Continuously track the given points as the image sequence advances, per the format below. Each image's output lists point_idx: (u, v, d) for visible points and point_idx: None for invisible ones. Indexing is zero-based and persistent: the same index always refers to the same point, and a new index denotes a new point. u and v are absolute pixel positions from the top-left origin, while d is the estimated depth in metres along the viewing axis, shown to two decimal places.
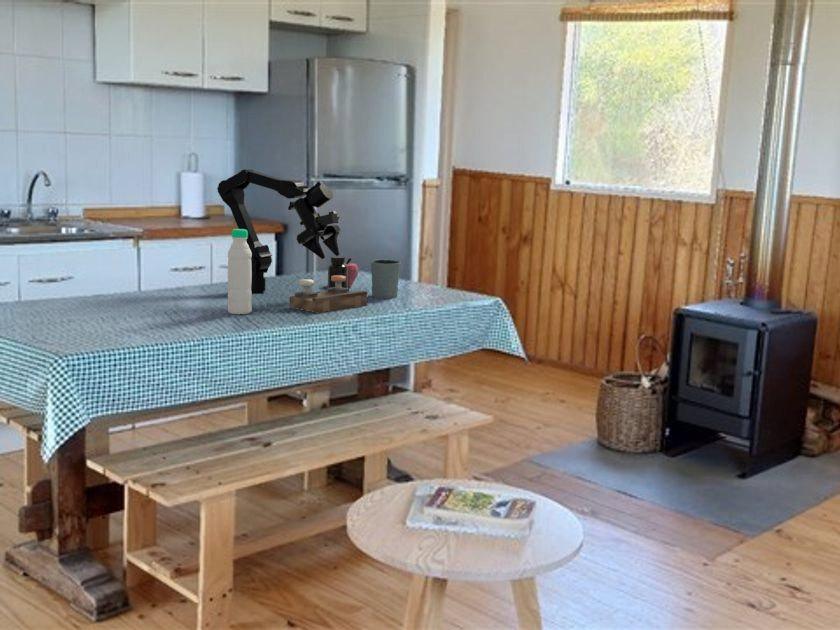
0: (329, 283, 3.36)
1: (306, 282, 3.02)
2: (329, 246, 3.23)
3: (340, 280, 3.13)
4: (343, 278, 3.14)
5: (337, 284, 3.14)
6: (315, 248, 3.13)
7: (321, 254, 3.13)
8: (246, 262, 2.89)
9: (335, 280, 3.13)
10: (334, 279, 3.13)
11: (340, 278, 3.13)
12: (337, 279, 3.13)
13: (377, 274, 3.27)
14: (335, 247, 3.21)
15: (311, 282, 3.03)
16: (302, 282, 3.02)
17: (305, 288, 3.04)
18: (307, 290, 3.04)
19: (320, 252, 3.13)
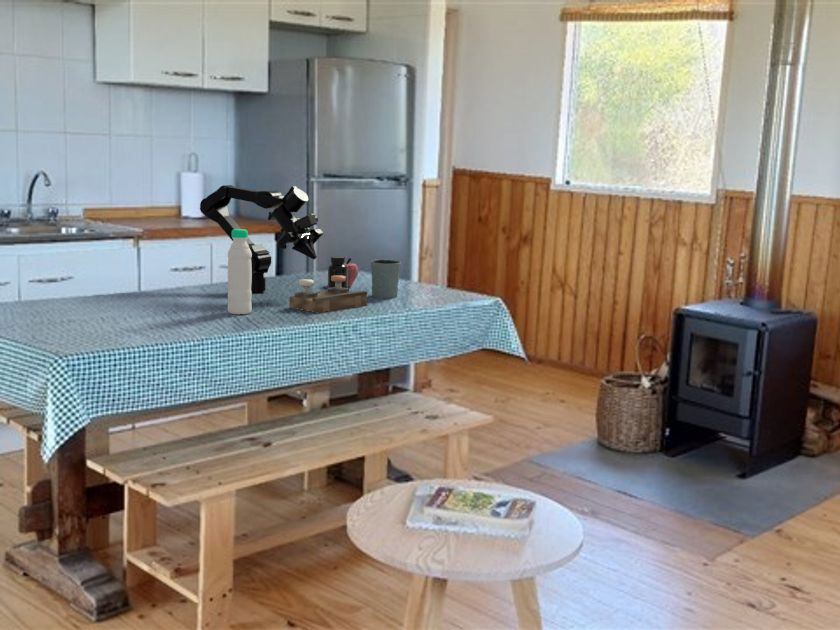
0: (329, 283, 3.36)
1: (306, 282, 3.02)
2: None
3: (340, 280, 3.13)
4: (343, 278, 3.14)
5: (337, 284, 3.14)
6: (305, 250, 3.18)
7: (312, 254, 3.18)
8: (246, 262, 2.89)
9: (335, 280, 3.13)
10: (334, 279, 3.13)
11: (340, 278, 3.13)
12: (337, 279, 3.13)
13: (377, 274, 3.27)
14: None
15: (311, 282, 3.03)
16: (302, 282, 3.02)
17: (305, 288, 3.04)
18: (307, 290, 3.04)
19: (310, 252, 3.18)
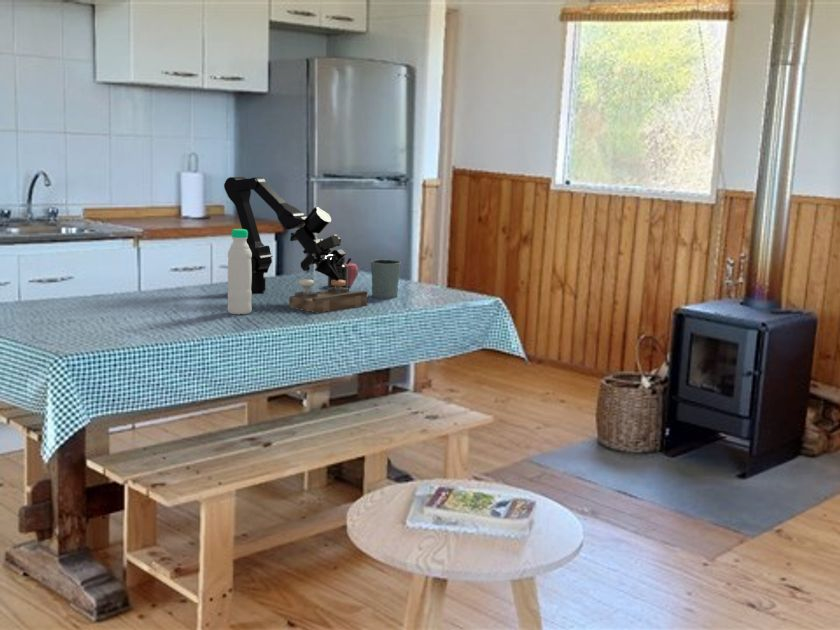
0: (329, 283, 3.36)
1: (306, 282, 3.02)
2: None
3: (340, 284, 3.13)
4: (343, 282, 3.14)
5: (337, 288, 3.15)
6: (328, 271, 3.15)
7: (335, 276, 3.15)
8: (246, 262, 2.89)
9: (335, 284, 3.13)
10: (334, 283, 3.13)
11: (340, 282, 3.13)
12: (337, 284, 3.13)
13: (377, 274, 3.27)
14: None
15: (311, 282, 3.03)
16: (302, 282, 3.02)
17: (305, 288, 3.04)
18: (307, 290, 3.04)
19: (333, 274, 3.15)
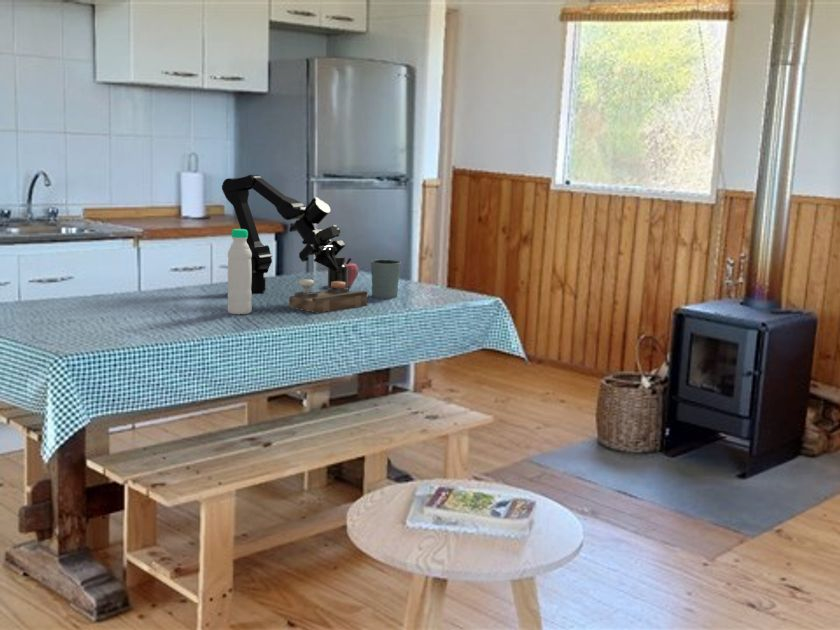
0: (329, 283, 3.36)
1: (306, 282, 3.02)
2: None
3: (340, 286, 3.13)
4: (343, 284, 3.14)
5: None
6: (327, 262, 3.14)
7: (334, 267, 3.13)
8: (246, 262, 2.89)
9: (335, 286, 3.13)
10: (334, 285, 3.13)
11: (340, 284, 3.13)
12: (337, 285, 3.13)
13: (377, 274, 3.27)
14: None
15: (311, 282, 3.03)
16: (302, 282, 3.02)
17: (305, 288, 3.04)
18: (307, 290, 3.04)
19: (332, 264, 3.13)
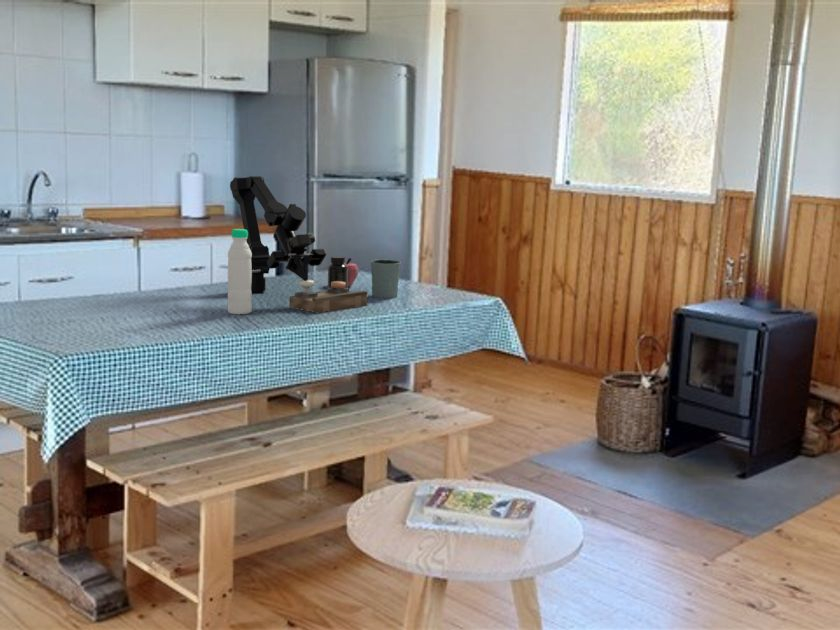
0: (329, 283, 3.36)
1: (306, 282, 3.02)
2: None
3: (340, 286, 3.13)
4: (343, 284, 3.14)
5: None
6: (297, 270, 3.05)
7: (303, 276, 3.04)
8: (246, 262, 2.89)
9: (335, 286, 3.13)
10: (334, 285, 3.13)
11: (340, 284, 3.13)
12: (337, 285, 3.13)
13: (377, 274, 3.27)
14: (304, 271, 3.05)
15: (311, 282, 3.03)
16: (302, 282, 3.02)
17: (305, 289, 3.04)
18: (307, 290, 3.04)
19: (301, 273, 3.04)
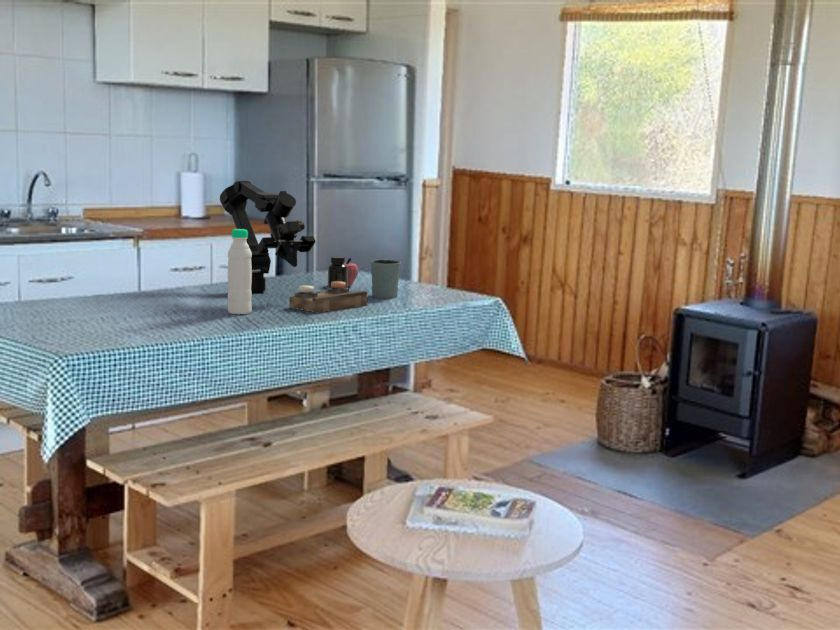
0: (329, 283, 3.36)
1: (306, 288, 3.03)
2: None
3: (340, 286, 3.13)
4: (343, 284, 3.14)
5: None
6: (287, 256, 3.10)
7: (292, 262, 3.09)
8: (246, 262, 2.89)
9: (335, 286, 3.13)
10: (334, 285, 3.13)
11: (340, 284, 3.13)
12: (337, 285, 3.13)
13: (377, 274, 3.27)
14: (293, 258, 3.10)
15: (311, 288, 3.03)
16: (302, 288, 3.03)
17: None
18: None
19: (290, 260, 3.09)
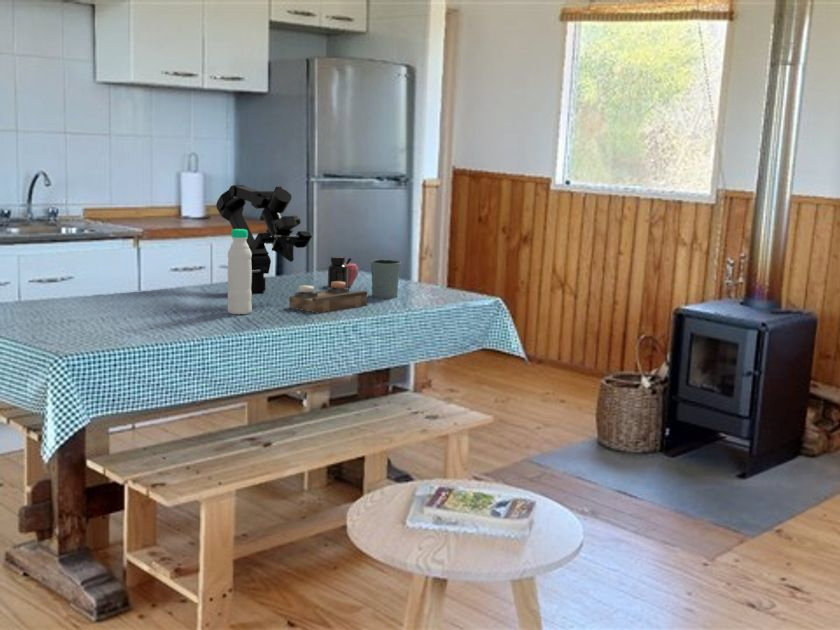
0: (329, 283, 3.36)
1: (306, 288, 3.03)
2: None
3: (340, 286, 3.13)
4: (343, 284, 3.14)
5: None
6: (283, 251, 3.11)
7: (288, 257, 3.10)
8: (246, 262, 2.89)
9: (335, 286, 3.13)
10: (334, 285, 3.13)
11: (340, 284, 3.13)
12: (337, 285, 3.13)
13: (377, 274, 3.27)
14: (290, 252, 3.11)
15: (311, 288, 3.03)
16: (302, 288, 3.03)
17: None
18: None
19: (287, 254, 3.10)
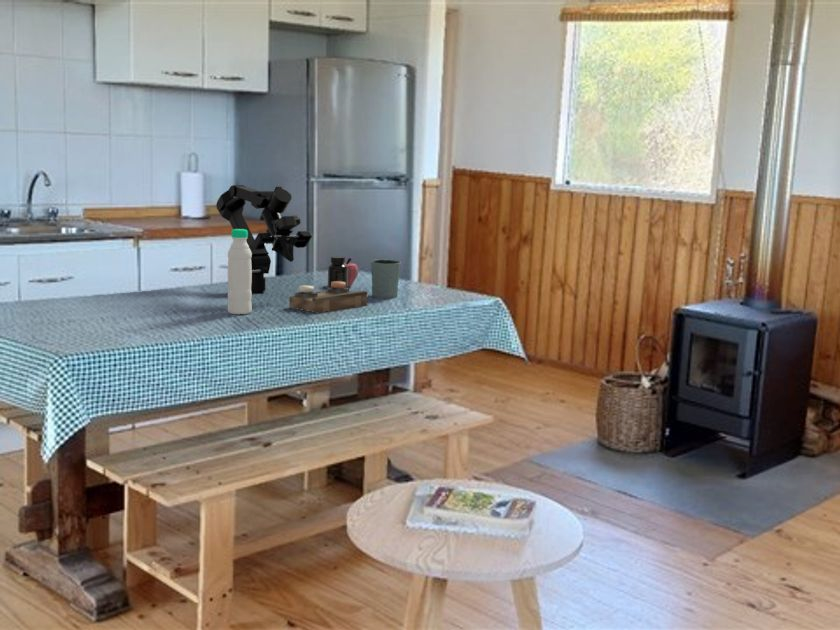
0: (329, 283, 3.36)
1: (306, 288, 3.03)
2: None
3: (340, 286, 3.13)
4: (343, 284, 3.14)
5: None
6: (283, 251, 3.11)
7: (288, 257, 3.10)
8: (246, 262, 2.89)
9: (335, 286, 3.13)
10: (334, 285, 3.13)
11: (340, 284, 3.13)
12: (337, 285, 3.13)
13: (377, 274, 3.27)
14: (290, 252, 3.11)
15: (311, 288, 3.03)
16: (302, 288, 3.03)
17: None
18: None
19: (287, 254, 3.10)
